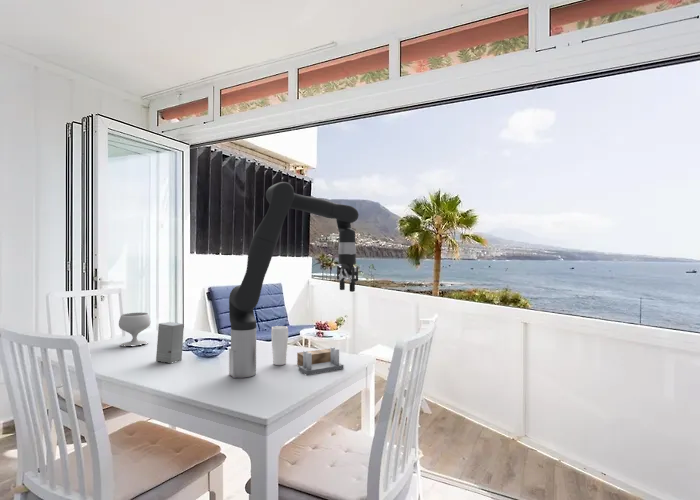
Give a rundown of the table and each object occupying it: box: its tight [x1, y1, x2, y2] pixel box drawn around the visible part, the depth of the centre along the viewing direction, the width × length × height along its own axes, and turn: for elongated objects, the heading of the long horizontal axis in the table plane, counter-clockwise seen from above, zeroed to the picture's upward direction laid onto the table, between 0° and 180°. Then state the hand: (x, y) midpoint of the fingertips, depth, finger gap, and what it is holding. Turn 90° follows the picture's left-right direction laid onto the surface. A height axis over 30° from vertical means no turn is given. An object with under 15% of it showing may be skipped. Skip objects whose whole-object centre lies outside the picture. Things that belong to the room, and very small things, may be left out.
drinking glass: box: [270, 325, 289, 366], centre depth 167 cm, size 7×7×15 cm
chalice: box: [118, 312, 151, 347], centre depth 202 cm, size 14×14×15 cm
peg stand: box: [298, 346, 345, 376], centre depth 159 cm, size 16×7×8 cm, turn 121°
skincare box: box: [155, 321, 185, 364], centre depth 172 cm, size 8×7×16 cm
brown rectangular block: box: [296, 347, 331, 367], centre depth 168 cm, size 16×6×5 cm, turn 120°
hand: (347, 290), depth 176 cm, fingers open, 8 cm apart
